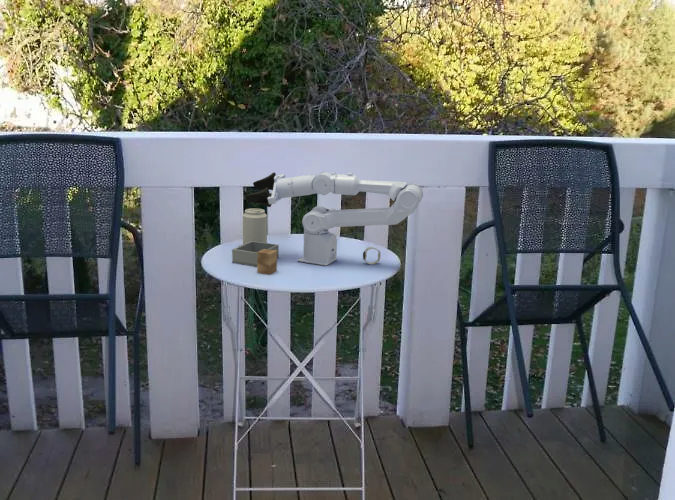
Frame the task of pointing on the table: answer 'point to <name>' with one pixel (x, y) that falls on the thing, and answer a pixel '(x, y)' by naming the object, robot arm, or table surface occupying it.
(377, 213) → the robot arm
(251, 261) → the bin
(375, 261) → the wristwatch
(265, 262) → the walnut block
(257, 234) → the can
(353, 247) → the table surface
